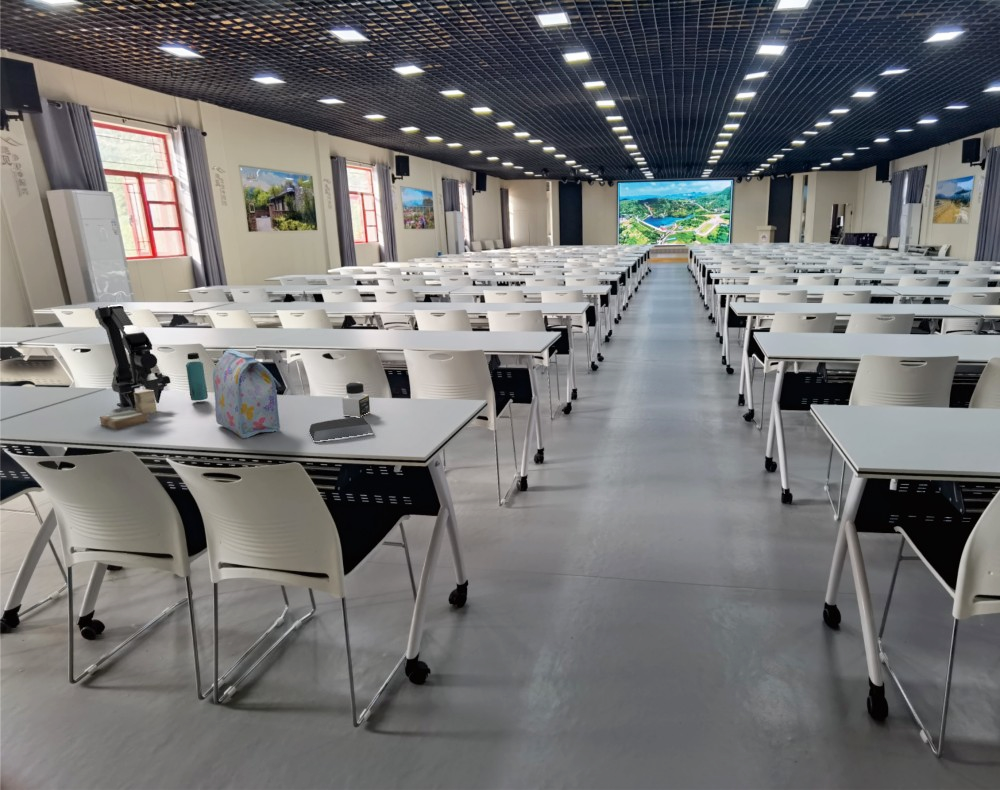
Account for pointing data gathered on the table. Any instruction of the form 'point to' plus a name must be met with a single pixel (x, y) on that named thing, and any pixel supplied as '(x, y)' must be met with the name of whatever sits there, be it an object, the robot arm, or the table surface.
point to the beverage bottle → (196, 378)
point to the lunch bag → (245, 395)
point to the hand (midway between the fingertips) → (145, 405)
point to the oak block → (145, 401)
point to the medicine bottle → (355, 400)
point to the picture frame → (123, 419)
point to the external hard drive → (339, 428)
